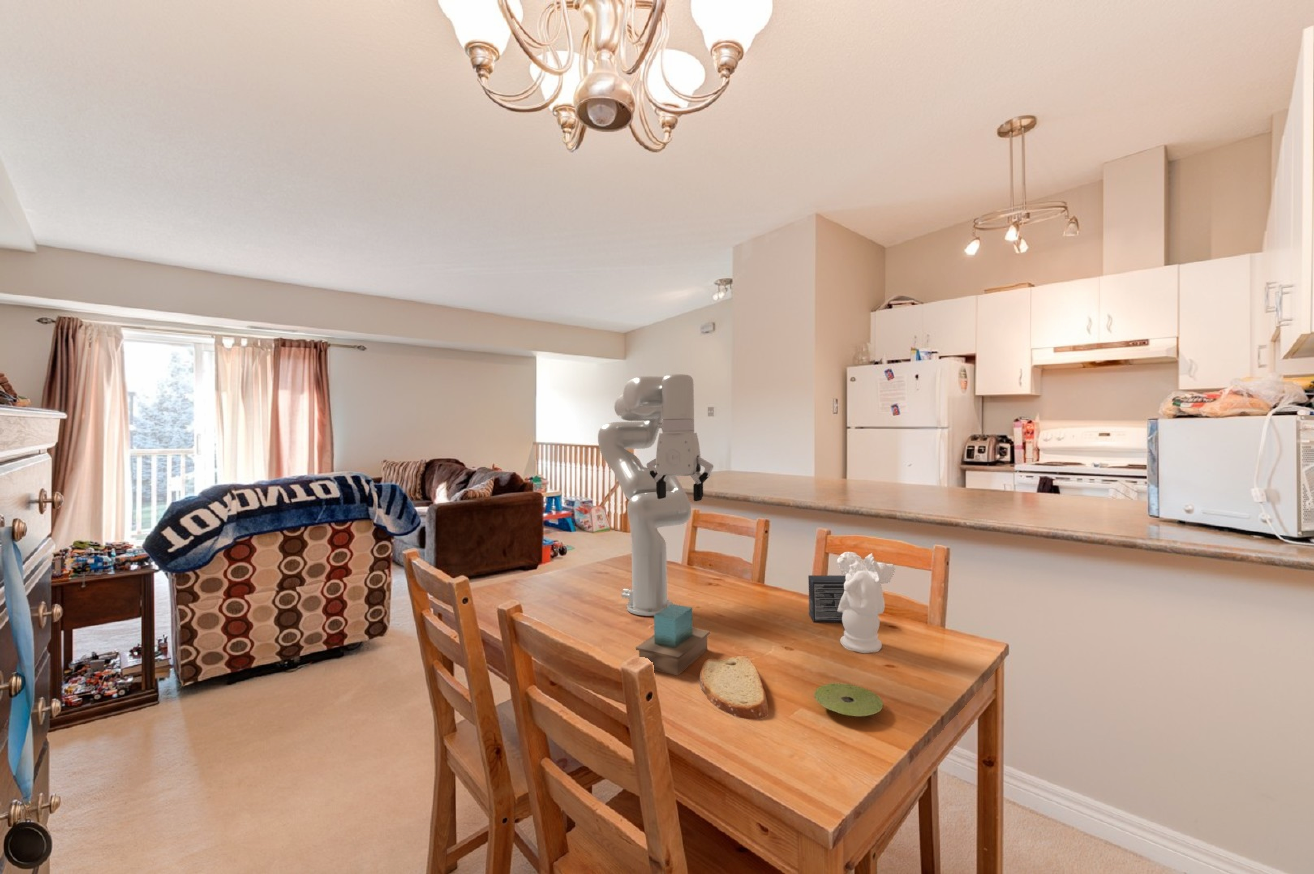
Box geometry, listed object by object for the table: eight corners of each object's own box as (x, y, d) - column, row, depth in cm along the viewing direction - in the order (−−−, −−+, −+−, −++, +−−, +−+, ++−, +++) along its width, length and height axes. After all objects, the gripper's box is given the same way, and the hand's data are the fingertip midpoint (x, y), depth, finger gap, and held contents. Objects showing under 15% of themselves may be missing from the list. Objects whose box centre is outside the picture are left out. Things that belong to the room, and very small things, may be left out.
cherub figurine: (832, 637, 125) (830, 543, 125) (883, 634, 126) (881, 541, 126) (856, 658, 113) (854, 554, 113) (912, 655, 114) (910, 552, 114)
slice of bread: (758, 726, 89) (758, 704, 89) (671, 694, 100) (670, 675, 100) (801, 684, 103) (801, 664, 103) (720, 660, 114) (720, 643, 114)
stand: (636, 666, 111) (635, 647, 111) (670, 640, 124) (670, 623, 124) (678, 677, 106) (678, 657, 106) (710, 649, 119) (710, 631, 119)
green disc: (829, 686, 101) (829, 676, 101) (891, 706, 94) (891, 695, 94) (803, 711, 93) (803, 700, 93) (870, 734, 86) (870, 722, 86)
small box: (849, 614, 139) (849, 574, 139) (856, 623, 133) (856, 581, 133) (808, 613, 140) (807, 573, 140) (813, 622, 134) (812, 581, 134)
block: (654, 643, 113) (654, 615, 113) (672, 630, 120) (672, 603, 120) (675, 648, 111) (675, 619, 110) (692, 634, 117) (692, 607, 117)
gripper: (638, 427, 128) (640, 499, 128) (704, 426, 119) (705, 503, 120) (654, 427, 134) (655, 495, 135) (718, 426, 126) (719, 499, 126)
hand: (679, 499), depth 127 cm, fingers open, 9 cm apart
